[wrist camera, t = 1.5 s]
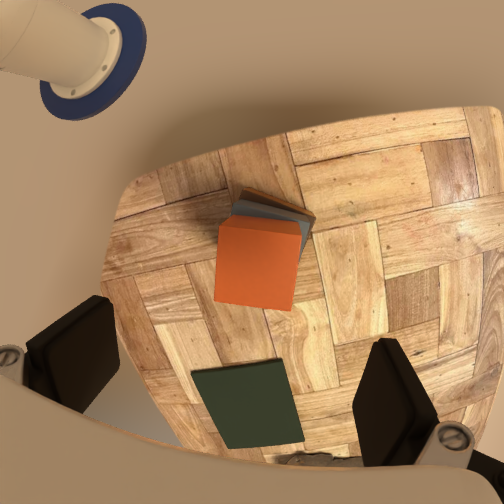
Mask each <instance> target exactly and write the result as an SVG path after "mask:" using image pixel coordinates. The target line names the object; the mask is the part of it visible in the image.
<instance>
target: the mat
mask: <svg viewBox="0 0 504 504" xmlns="http://www.w3.org/2000/svg"><path fill="white" fill-rule="evenodd" d="M191 376H192V378H193V381H194V383H195V385H196V387H197V389H198V391H199V393H200V395H201V397H202V399H203V401H204V404H205V406H206V408H207V410H208V412H209V414H210V416H211V417H212V419H213V421H214V423H215V425H216V427H217V429H218V431H219V433H220V435H221V437H222V438H223V440H224V442H225V444H226V446H227V448H228V449H238V448H254V447H265V446H275V445H284V444H291V443H299V442H305V438H304V435H303V431H302V428H301V424H300V420H299V417H298V413H297V410H296V406H295V402H294V399H293V395H292V392H291V388H290V385H289V381H288V377H287V374H286V370H285V367H284V363H283V360H282V359H278V360H272V361H267V362H261V363H254V364H248V365H241V366H234V367H227V368H219V369H211V370H202V371H192V372H191Z"/></svg>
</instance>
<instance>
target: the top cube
mask: <svg viewBox="0 0 504 504" xmlns="http://www.w3.org/2000/svg"><path fill="white" fill-rule="evenodd" d="M301 241H302V234H301V230H300V226H299V223H298V222H293V221H285V220H276V219H268V218H259V217H251V216H242V215H232V216H231V217H230V218H228V219H227V220H226V221H224V222H223V223H222V224H221V225H219V231H218V245H217V259H216V274H215V291H214V301H216V302H223V303H229V304H236V305H243V306H251V307H258V308H266V309H274V310H282V311H291V307H292V301H293V295H294V288H295V282H296V275H297V269H298V262H299V255H300V248H301Z"/></svg>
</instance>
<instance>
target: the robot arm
mask: <svg viewBox="0 0 504 504" xmlns="http://www.w3.org/2000/svg"><path fill="white" fill-rule="evenodd" d="M121 49H122V33H121V30H120V28H119V27H118V25H117V24H116V23H114V22H113V21H112V20H110V19H108V18H105V17H96V18H91V19H87V18H86V17H84V16H83V15H81V14H79V13H78V12H76V11H74V10H73V9H71V8H69V7H68V6H66V5H64V4H62V3H61V2H59V1H57V0H0V70H1V71H6V72H10V73H15V74H19V75H23V76H27V77H31V78H35V79H39V80H43V81H46V82H50V86H51V88H52V90H53V91H54V93H55V94H57V95H58V96H60V97H62V98H66V99H78V98H82V97H84V96H86V95H88V94H90V93H91V92H93V91H94V90H95V89H97V88H98V87H99V86H100V85H101V84H102V83H103V82H104V81H105V80H106V79H107V78H108V76H109V75H110V73H111V72H112V70H113V69H114V67H115V65H116V63H117V61H118V59H119V56H120V53H121ZM26 347H27V350H28V351H27V352H26V353H25V354H24V351H23V350H22V348H20V347H19V346H16V345H3V346H0V504H504V463H503V462H500V461H498V460H496V459H494V458H491V457H489V456H487V455H485V454H482V453H481V452H478V451H476V450H474V449H473V448H474V444H475V439H474V435H473V433H472V432H471V430H470V429H469V428H468V427H466V426H465V425H463V424H461V423H459V422H456V421H444V422H441V423H440V422H439V419H438V417H437V415H438V414H437V412H436V410H435V408H434V406H433V404H432V402H431V400H430V398H429V397H428V395H427V393H426V391H425V389H424V387H423V385H422V383H421V382H420V380H419V378H418V376H417V374H416V372H415V371H414V369H413V367H412V365H411V363H410V362H409V360H408V358H407V356H406V355H405V353H404V351H403V349H402V348H401V346H400V344H399V342H398V341H397V339H392V338H380V339H379V340H378V342H374V343H373V345H372V348H371V352H370V355H369V358H368V361H367V364H366V367H365V369H364V372H363V375H362V378H361V381H360V383H359V386H358V389H357V392H356V394H355V397H354V400H353V404H352V409H353V414H354V419H355V424H356V429H357V433H358V438H359V444H360V449H361V454H362V459H363V465H364V467H310V466H294V465H282V464H272V463H263V462H255V461H248V460H241V459H235V458H229V457H224V456H218V455H213V454H208V453H203V452H199V451H194V450H190V449H186V448H182V447H177V446H173V445H170V444H166V443H163V442H159V441H156V440H152V439H149V438H146V437H143V436H140V435H137V434H133V433H130V432H127V431H125V430H121V429H119V428H116V427H113V426H111V425H108V424H105V423H103V422H100V421H98V420H95V419H93V418H90V417H88V416H86V415H83V412H84V411H85V410H86V409H87V407H88V406H89V405H90V404H91V402H92V401H93V400H94V399H95V398H96V396H97V395H98V394H99V393H100V392H101V390H102V389H103V388H104V387H105V386H106V384H107V383H108V382H109V381H110V379H111V378H112V377H113V376H114V375H115V373H116V372H117V371H118V369H119V366H120V359H119V352H118V344H117V336H116V328H115V318H114V308H113V304H112V303H111V302H110V300H109V299H108V298H106V297H102V296H97V295H93V296H92V297H90V298H89V299H87V300H86V301H84V302H83V303H81V304H80V305H78V306H77V307H76V308H74V309H73V310H71V311H70V312H68V313H67V314H65V315H64V316H62V317H61V318H60V319H58V320H57V321H55V322H54V323H53V324H51V325H50V326H48V327H47V328H46V329H44V330H43V331H41V332H40V333H39V334H37V335H36V336H35V337H33V338H32V339H30V340H29V341H28V342H26Z"/></svg>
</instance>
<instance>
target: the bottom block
mask: <svg viewBox="0 0 504 504" xmlns="http://www.w3.org/2000/svg"><path fill="white" fill-rule="evenodd" d="M240 199H244V200H248V201H252V202H256V203H260V204H264V205H268V206H272V207H276V208H279V209H283V210H287V211H291V212H294V213H298V214H302V215H305V216H307V218H308V220H309V222H310V226H309V230H308V233H307V237H306V240H305V244H306V242H307V240H308V237H309V235H310V233H311V230H312V228H313V225H314V223H315V221H316V217H315V215H314V214H313V213H312V212H310V211H308V210H306V209H303V208H301V207H298V206H296V205H293V204H291V203H288V202H286V201H283V200H281V199H278V198H276V197H273V196H271V195H268V194H266V193H263V192H260V191H258V190H255V189H252V188H250V187H247V188H245V189H243V190H242V192H241V195H240V198H239V200H240ZM305 244H304V247H305ZM304 247H303V249H304Z"/></svg>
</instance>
